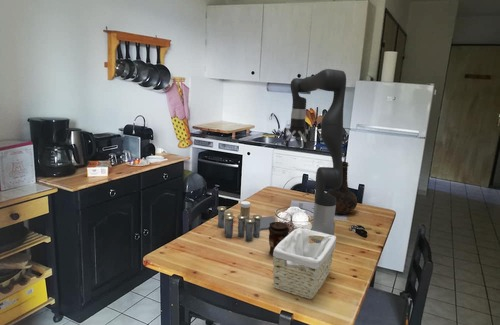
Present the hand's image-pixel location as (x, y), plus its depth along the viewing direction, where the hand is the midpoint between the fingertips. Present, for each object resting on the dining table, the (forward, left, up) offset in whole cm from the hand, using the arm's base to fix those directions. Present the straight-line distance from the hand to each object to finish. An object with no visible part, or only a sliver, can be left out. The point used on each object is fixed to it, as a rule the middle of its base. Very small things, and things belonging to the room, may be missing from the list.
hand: (295, 148), depth 196 cm
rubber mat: (-17, +22, -34) cm, 44 cm away
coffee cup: (-48, +31, -34) cm, 67 cm away
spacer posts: (-24, +39, -34) cm, 57 cm away
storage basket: (-68, +30, -34) cm, 82 cm away
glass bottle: (-10, -25, -34) cm, 43 cm away
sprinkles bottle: (-21, +35, -34) cm, 53 cm away
